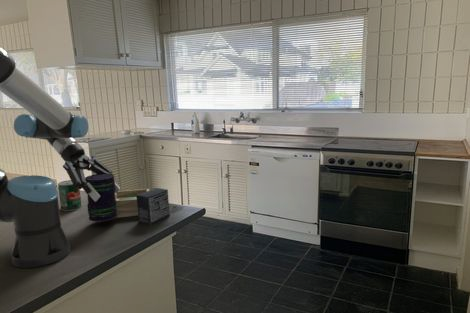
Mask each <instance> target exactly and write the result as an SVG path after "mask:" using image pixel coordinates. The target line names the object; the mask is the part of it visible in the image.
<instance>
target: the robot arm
mask: <svg viewBox="0 0 470 313" xmlns="http://www.w3.org/2000/svg"><path fill="white" fill-rule="evenodd" d="M0 93H2V94H3V95H5V96H6V97H8V98H9V99H11V100H12V101H13V102H14V103H16V104H17V105H19V106H21V107H22V108H23V109H24V110H26V111H27V112H29V113H30V114H26V113H22V114H19V115H18V116H16V118H15V119H14V121H13V130H14V132H15V133H16V135H18V136H20V137H22V138H23V137H24V138H26V139H28V138H29V139H37V140H38V139H39V140H46V141H47V143H49V145H51V147H52V148H53V149H54V150H55V151H56V153H58V155H59V156H60V157H61V158H62V160H63V161H64V164H63V165H62V168H63V169H64V170H65V171H66V173H67V175H68V177H69V180H71V181H72V183H73V185H74V187H76V188H77V187H78V188H79V189H80V190H82V189H83V191H84V192H85V193H86V194H89V195H90V196H91V198H92V199H93V200H94V201H97V200H98V199H99V197H100V195H99V194H98V193H97V191H96V190H95V189H94V188H93V187H92V186H91V184H90V183H89V182H88V183H86V180H85V178H86V177H85V173H84V170H86V171H88V172H89V171H90V172H92V173H95V174H113V170H111V169H110V168H108V166H106V165H105V164H104V163H103V162H101V161H100V160H99V159H98V158H97V157H96V155H92V156H90V157H89V156H87V155H86V153H85V149H84V148H83V147H82V145H81V144H80V143H78V141H77V140H76V139H79V138H80V139H81V138H84V137H86V135H87V134H88V132H89V122H88V120H87V118H86V116H84V115H80V114H72V113H71V112H70V111H69V110H68V109H66V107H65V106H63V105H62V104H61V103H59V102H58V101H57V100H56V99H55V98H54V97H53V96H51V94H49V93H48V92H47V91H46V90H45V89H44V88H43V87H42V86H40V85H39V84H38V83H37V82H36V81H35V80H34V79H32V78H31V77H30V76H29V75H28V74H26V72H24V71H23V70H22V69H21V68H20V67H19V66H18V65H17V61H16V60H15V58H14V57H13V56H12V55H11V54H10V53H9V52H8V51H6V50H5V49H4V48H3V47H1V46H0ZM118 191H121V187H120V185H118V184H117V183H116V182H115V194H116V193H117V192H118ZM58 196H59V191H58V190H57V186H56V182H55V180H54V179H52V178H50V177H48V176H45V175H44V176H43V175H38V174H37V175H35V174H33V175H20V176H15V177H12V178H11V179H8V175H7V174H6V171H5V170H3V169H2V168H0V223H13V227H14V232H15V234H14V235H15V236H14V241H13V246H12V250H11V255H10V256H11V262H12V265H13V266H14V267H15V268H21V269H23V268H24V269H31V268H32V269H33V268H39V267H43V266H47V265H51V264H54V263H56V262H58V261H61V260H62V259H64V258H65V257H67V256H68V255H69V254H70V253H71V250H72V249H71V243H70V240H69V238H68V236H67V235H66V233H65V230H64V228H62V223H61V215H60V214H61V213H60V205H59V197H58Z"/></svg>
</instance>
